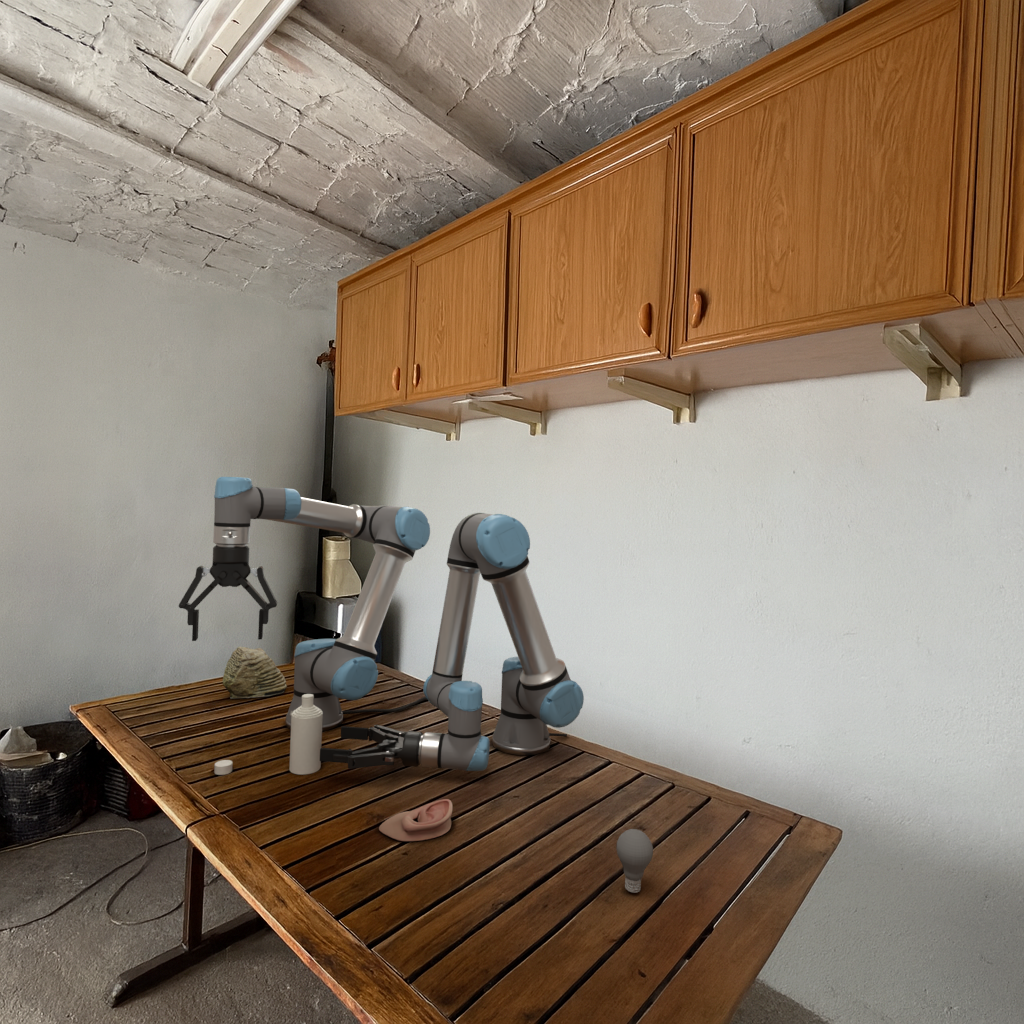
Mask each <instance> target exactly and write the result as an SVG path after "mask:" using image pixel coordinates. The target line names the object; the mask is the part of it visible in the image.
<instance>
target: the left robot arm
mask: <svg viewBox="0 0 1024 1024" xmlns="http://www.w3.org/2000/svg"><path fill="white" fill-rule="evenodd" d="M213 499H214V521H213V538H212V539H213V540H212V541H213V542H212V543H213V544H214V546H213V547H212V564H211V567H206V566H203V565H198V566H197V567H196V570H195V577H194V578H193V580H192V581H191V583H190V585H189V586H188V588H187V590H186V591H185V593H184V595H183V597H182V598H181V600H180V602H179V603H178V608H179V609H183V610H186V611H187V626H192V628H191V629H192V630H191V631H192V633H191V636H192V637H191V642H197V640H198V639H199V620H200V609H199V608H198V609H196V608H197V607H198V605H200V603H202V602H203V601H204V600H205V598H207V596H208V595H209V594H210V593H212V591H213V590H214V589H215V588H217V586H220V587H222V588H227V587H232V588H237V587H242V588H243V589H244V590H245V591H246V592H247V593H248V595H250V596H251V597H252V599H253V600H254V601H255V603H257V604H258V606H260V609H259V611H258V634H257V635H258V636H257V640H263V637H264V625H267V624H268V623H269V616H270V615H269V613H270V612H269V611H270V610H271V609H273V608H276V607H277V606H278V600H277V598H276V597H275V595H274V593H273V591H272V588H271V587H270V584H269V583H268V581H267V579H266V576H265V571H264V567H263V566H261V565H260V566H257V567H251V566H250V547H249V546H248V545H249V544H250V543H251V541H250V539H251V520H266V521H273V522H278V523H283V524H284V523H285V524H290V525H296V526H302V527H309V528H314V529H321V530H326V531H333V532H338V533H343V534H344V536H346V537H348V538H354V539H357V540H361V541H364V542H367V543H371V544H372V547H373V550H374V551H375V555H374V557H373V560H372V562H371V563H370V567H369V569H368V572H367V574H366V577H365V580H364V582H363V584H362V586H361V587H362V588H361V590H360V592H359V595H358V597H357V600H356V603H355V605H354V608H353V610H352V614H351V615H350V617H349V618H350V619H349V620H348V623H347V625H346V628H345V630H344V634H343V635H342V636H340V637H338V638H318V639H308V640H304V641H300V642H299V643H297V644H296V646H295V650H294V655H293V657H294V672H293V673H294V674H293V695H292V696H293V697H292V699H291V702H290V704H289V708H288V711H287V713H286V715H285V726H286V728H287V729H289V730H291V714H292V713H293V711H294V710H296V709H297V708H298V707H300V706H301V705H302V695H304V694H313V695H314V698H313V705H315V706H316V707H318V708H319V709H321V710H322V712H323V718H322V732H325V731H329V730H332V729H335V728H337V727H339V726H340V725H342V723H343V722H344V715H355V714H367V713H368V714H369V713H397V712H401V711H404V710H406V709H409V708H411V707H413V706H416V705H418V704H419V703H421V702H424V701H427V700H428V699H427V698H426V697H425V696H423V697H420V698H419V699H416V700H415V701H412V702H410V703H407V704H405V705H403V706H400V707H396V708H365V709H351V710H343V709H342V706H341V702H340V699H341V700H347V701H357V700H360V699H362V698H363V697H365V696H367V695H368V694H370V692H371V691H372V690H373V689H374V687H375V685H376V683H377V681H378V677H379V670H378V665H377V663H376V658H377V655H378V652H377V650H376V648H375V645H376V641H377V639H378V636H379V634H380V631H381V629H382V627H383V623H384V621H385V618H386V616H387V612H388V611H389V607H390V604H391V602H392V599H393V597H394V594H395V591H396V588H397V586H398V583H399V581H400V578H401V576H402V573H403V569H404V568H405V564H406V563H408V562H410V561H412V560H413V559H414V556H415V554H416V551H418V550H421V549H423V548H424V547H425V546H426V545H427V544H428V542H429V540H430V535H431V525H430V523H429V521H428V520H429V519H428V517H427V516H426V514H425V513H424V512H423V511H421V510H420V509H418V508H415V507H410V506H392V505H362V504H361V505H360V504H356V503H352V504H350V505H342V504H338V503H333V502H327V501H322V500H318V499H313V498H308V497H303V496H301V495H300V493H299V491H298V490H296V489H295V488H288V487H287V488H286V487H264V486H253V481H252V479H251V478H250V477H241V476H239V477H237V476H220V477H218V478H217V479H216V481H215V487H214V495H213ZM207 574H210V575H211V577H212V578H213V580H212V582H210V584H209V585H207V587H206V588H205V589H204V590H202V592H201V593H200V594H199V595H198V596H197V597H196V598H195V599H194V600H193V602H191V603H190V602H189V601H190V600H191V598H192V596H193V595H194V593H195V591H196V590H197V588H198V586H199V584H200V582H201V581H202V579H203V578H204V577H206V576H207ZM250 574H253V576H254V577H255V578H257V580H258V583H259V584H260V586H261V588H262V590H263V592H264V594H265V597H266V598H267V600H268V602H267V601H266V600H265V599H264V597H263V596H262V595H261V594H260V593H259V592H258V590H256V588H255V587H254V586H253V585H252V584H251V582H250V581H249V580H248V577H249V576H250Z"/></svg>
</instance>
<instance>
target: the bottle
mask: <svg viewBox="0 0 1024 1024" xmlns="http://www.w3.org/2000/svg"><path fill="white" fill-rule="evenodd" d="M313 698H314V695H313V694H304V695H302V705H301V706H300V707H298V708H297V709H296V710H294V711H293V713H292V714H291V729H290V740H289V741H290V742H289V743H290V744H289V772H290V773H291V774H294V775H298V776H299V775H301V776H302V775H303V776H305V775H310V774H314V773H317V772H318V771H320V769H321V765H322V761H320V749H321V748H322V744H323V743H322V741H323V740H322V739H323V731H322V718H323V712H322V710H321V709H319V708H318V707H316V706H315V705H313Z"/></svg>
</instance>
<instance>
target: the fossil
mask: <svg viewBox="0 0 1024 1024" xmlns="http://www.w3.org/2000/svg"><path fill="white" fill-rule="evenodd" d="M222 676H223V677H222V685H223V687H224V688H225V690H226V691H228V693H229V698H230V699H250V698H264V697H271V696H275V695H281V694H284V693H285V691H286V689H287V687H288V686H287V680H286V678H285V676H284V674H283V673H282V672H281V669H279V668H278V667H277V665H276V663H275V662H274V660H273V659H272V658H271V657H270V656H269V655H268V654H267V653H266V652H265V650H264V649H263V648H260V647H258V648H251V647H247V646H246V647H245V646H238V647H237V648H236V649H235V650H233V651H232V653H231V656H230V657H229V659H228V660H227V663H226V666H225V668H224V671H223V675H222Z"/></svg>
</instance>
